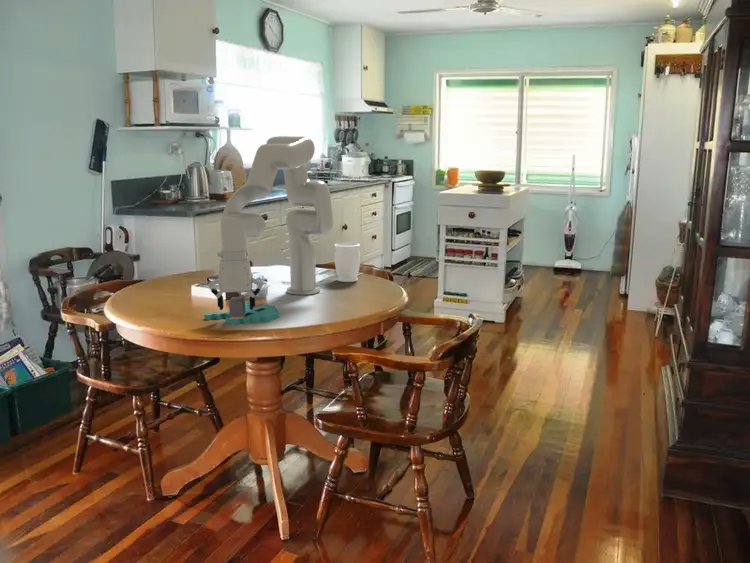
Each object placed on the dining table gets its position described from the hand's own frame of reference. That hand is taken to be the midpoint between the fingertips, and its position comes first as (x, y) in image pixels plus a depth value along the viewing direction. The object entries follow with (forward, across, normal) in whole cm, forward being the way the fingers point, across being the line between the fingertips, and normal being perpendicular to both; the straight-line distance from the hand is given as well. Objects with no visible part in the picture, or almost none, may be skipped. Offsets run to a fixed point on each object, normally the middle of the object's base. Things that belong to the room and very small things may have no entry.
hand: (236, 308), depth 217 cm
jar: (+4, +36, +61) cm, 71 cm away
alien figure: (+5, +3, +6) cm, 8 cm away
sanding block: (+2, 0, 0) cm, 3 cm away
